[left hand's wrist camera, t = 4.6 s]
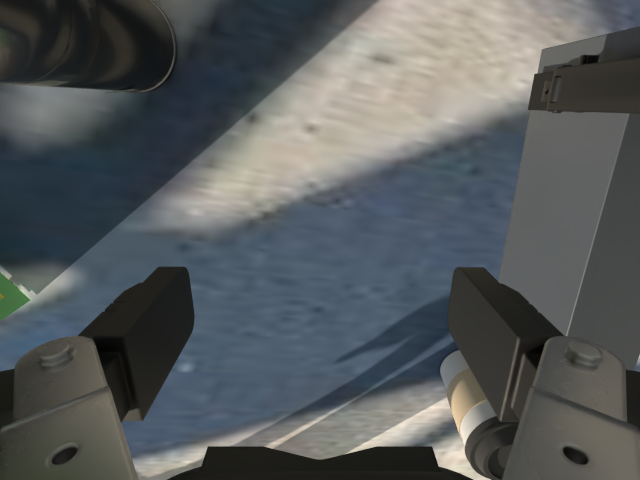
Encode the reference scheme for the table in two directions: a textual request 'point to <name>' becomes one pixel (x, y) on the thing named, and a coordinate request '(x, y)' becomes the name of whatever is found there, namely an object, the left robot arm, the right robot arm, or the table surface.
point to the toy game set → (10, 297)
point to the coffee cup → (477, 419)
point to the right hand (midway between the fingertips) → (576, 92)
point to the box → (581, 213)
